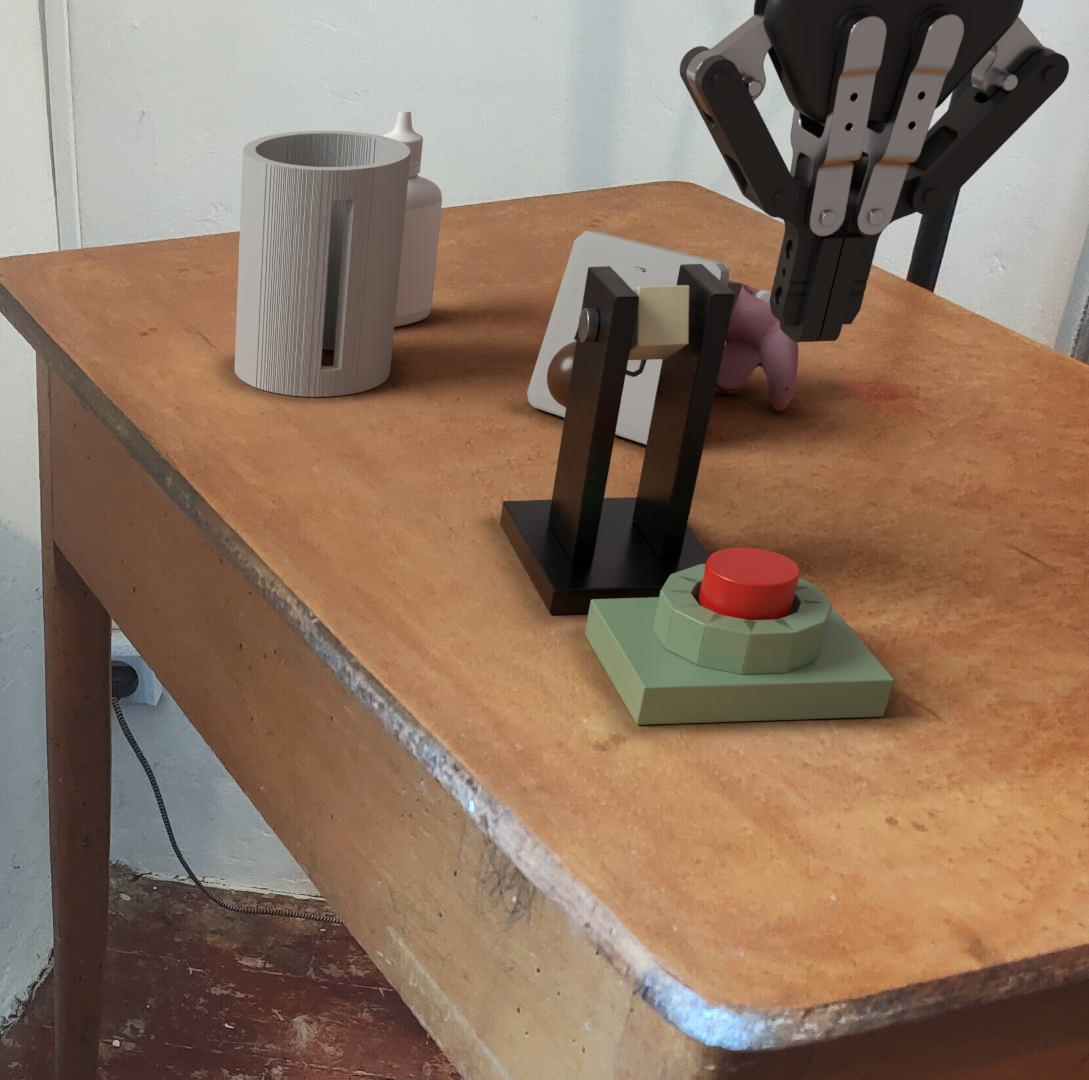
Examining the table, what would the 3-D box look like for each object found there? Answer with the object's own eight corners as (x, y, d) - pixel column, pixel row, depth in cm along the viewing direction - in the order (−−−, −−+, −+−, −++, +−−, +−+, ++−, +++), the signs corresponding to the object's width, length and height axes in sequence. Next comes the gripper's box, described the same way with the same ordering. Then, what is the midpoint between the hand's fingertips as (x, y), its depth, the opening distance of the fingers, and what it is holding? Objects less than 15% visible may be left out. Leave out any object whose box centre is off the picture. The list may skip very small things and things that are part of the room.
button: (772, 585, 72) (782, 545, 71) (803, 624, 70) (814, 583, 69) (686, 587, 72) (695, 548, 71) (714, 627, 70) (723, 586, 68)
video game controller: (780, 420, 100) (799, 290, 98) (797, 409, 95) (818, 273, 94) (602, 411, 101) (619, 283, 100) (611, 400, 97) (628, 266, 95)
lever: (538, 416, 86) (538, 349, 86) (602, 415, 86) (603, 347, 86) (625, 355, 73) (626, 276, 73) (700, 353, 74) (702, 274, 73)
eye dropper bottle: (434, 330, 108) (456, 119, 101) (343, 330, 109) (358, 119, 101) (428, 309, 112) (449, 102, 104) (340, 308, 112) (355, 103, 105)
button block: (811, 627, 76) (831, 551, 74) (883, 717, 70) (908, 637, 68) (584, 634, 76) (597, 559, 74) (636, 725, 70) (652, 645, 68)
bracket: (499, 524, 85) (537, 249, 77) (661, 519, 85) (716, 244, 78) (549, 615, 78) (598, 319, 70) (728, 609, 78) (796, 313, 70)
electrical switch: (520, 408, 98) (557, 231, 92) (578, 396, 101) (616, 223, 95) (659, 456, 92) (706, 269, 87) (716, 442, 95) (765, 260, 89)
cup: (322, 335, 108) (337, 123, 101) (421, 375, 102) (445, 153, 95) (204, 364, 104) (210, 145, 97) (300, 407, 98) (314, 178, 91)
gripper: (775, -231, 50) (660, 374, 61) (1225, -238, 51) (1031, 365, 61) (694, -245, 56) (601, 309, 67) (1097, -252, 57) (941, 300, 67)
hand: (808, 335), depth 64 cm, fingers closed
